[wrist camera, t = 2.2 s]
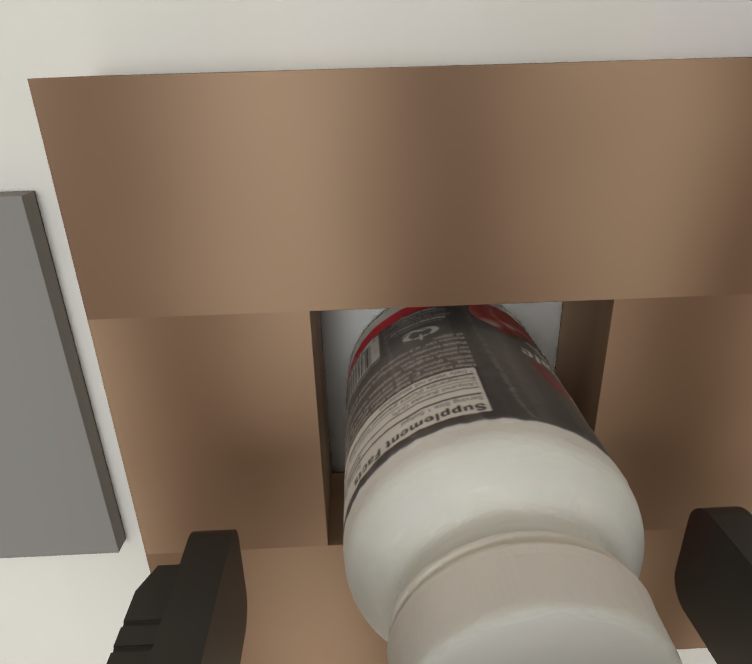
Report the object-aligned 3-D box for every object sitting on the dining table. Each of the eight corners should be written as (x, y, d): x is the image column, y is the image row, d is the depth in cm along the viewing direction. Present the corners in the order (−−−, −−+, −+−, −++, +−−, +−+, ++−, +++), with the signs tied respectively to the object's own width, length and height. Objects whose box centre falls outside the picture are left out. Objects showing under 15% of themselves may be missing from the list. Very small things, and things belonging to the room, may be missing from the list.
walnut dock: (790, 55, 14) (900, 53, 11) (668, 568, 20) (716, 647, 18) (93, 75, 13) (27, 78, 11) (200, 592, 20) (176, 675, 17)
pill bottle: (568, 386, 17) (803, 733, 8) (419, 480, 18) (483, 871, 9) (466, 244, 15) (626, 496, 6) (307, 359, 16) (254, 705, 8)
